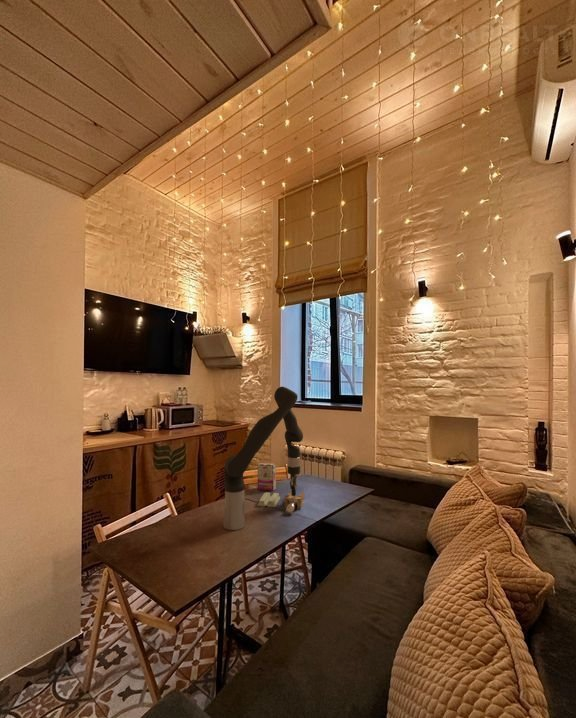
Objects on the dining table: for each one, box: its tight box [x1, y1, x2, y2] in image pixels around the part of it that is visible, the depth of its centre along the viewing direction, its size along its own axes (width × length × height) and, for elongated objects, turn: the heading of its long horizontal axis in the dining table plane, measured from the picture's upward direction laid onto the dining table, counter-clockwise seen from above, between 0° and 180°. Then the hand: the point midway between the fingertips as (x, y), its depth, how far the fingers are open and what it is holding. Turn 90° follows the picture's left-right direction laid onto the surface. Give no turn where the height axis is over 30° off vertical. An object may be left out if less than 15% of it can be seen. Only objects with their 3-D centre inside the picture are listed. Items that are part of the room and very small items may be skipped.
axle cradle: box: [257, 492, 281, 508], centre depth 190 cm, size 10×14×3 cm
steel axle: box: [284, 500, 297, 516], centre depth 179 cm, size 14×4×4 cm, turn 168°
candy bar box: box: [257, 462, 277, 492], centre depth 214 cm, size 11×5×16 cm, turn 73°
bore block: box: [283, 491, 305, 510], centre depth 188 cm, size 9×16×6 cm, turn 170°
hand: (293, 495), depth 188 cm, fingers closed
